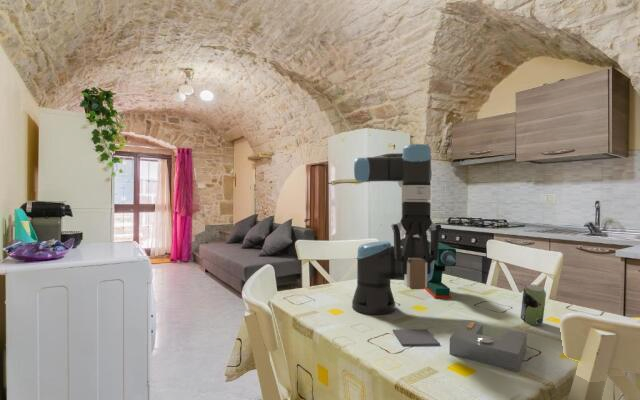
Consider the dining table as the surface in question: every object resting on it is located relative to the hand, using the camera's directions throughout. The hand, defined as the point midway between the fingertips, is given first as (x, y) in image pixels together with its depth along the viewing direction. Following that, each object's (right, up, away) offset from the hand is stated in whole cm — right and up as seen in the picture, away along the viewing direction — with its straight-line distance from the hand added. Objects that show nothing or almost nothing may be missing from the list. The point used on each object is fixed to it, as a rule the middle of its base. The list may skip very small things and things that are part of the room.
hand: (415, 285), depth 97 cm
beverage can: (+40, -15, +13) cm, 45 cm away
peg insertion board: (+16, -15, -8) cm, 23 cm away
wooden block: (0, -1, 0) cm, 1 cm away
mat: (0, -15, 0) cm, 15 cm away
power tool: (+22, -15, +42) cm, 50 cm away
